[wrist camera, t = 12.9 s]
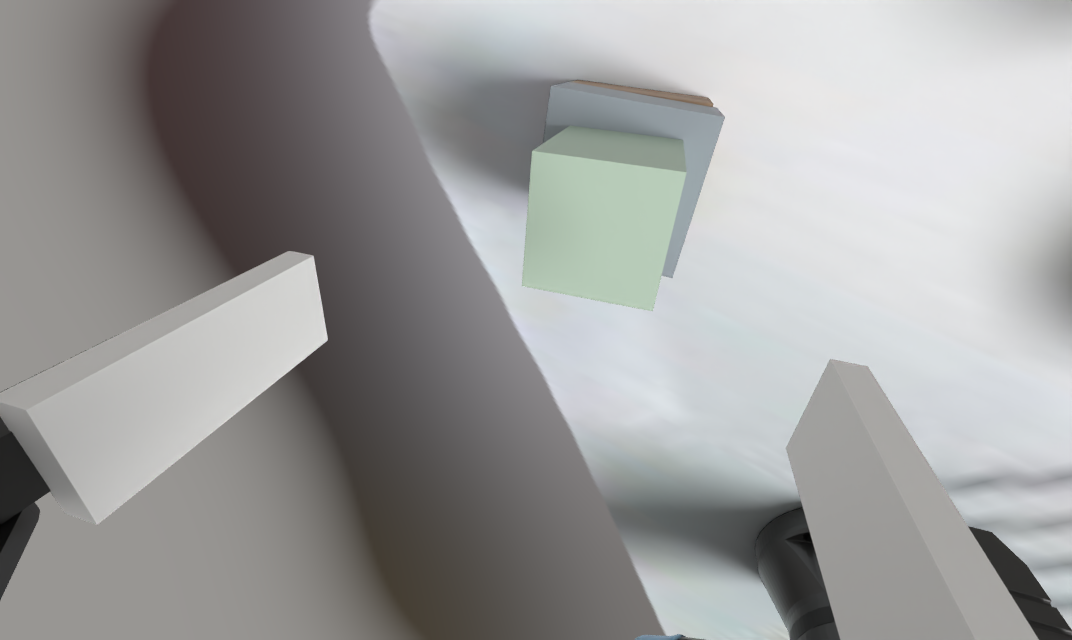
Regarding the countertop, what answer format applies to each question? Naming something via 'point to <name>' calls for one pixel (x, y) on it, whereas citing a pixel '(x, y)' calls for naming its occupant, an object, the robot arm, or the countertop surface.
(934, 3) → the countertop surface
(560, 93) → the tower top
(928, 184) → the countertop surface
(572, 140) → the green block
